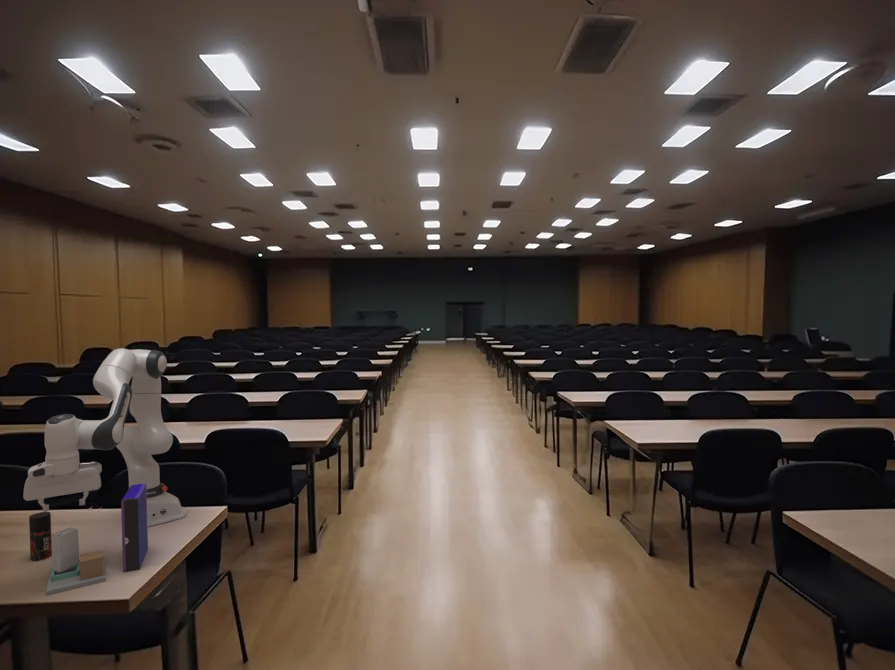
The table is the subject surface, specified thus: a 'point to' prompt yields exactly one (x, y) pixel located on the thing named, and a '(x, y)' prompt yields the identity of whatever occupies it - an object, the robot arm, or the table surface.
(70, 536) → the skincare box
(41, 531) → the deodorant
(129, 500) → the cereal box
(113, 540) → the table surface
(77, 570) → the grey board with block
